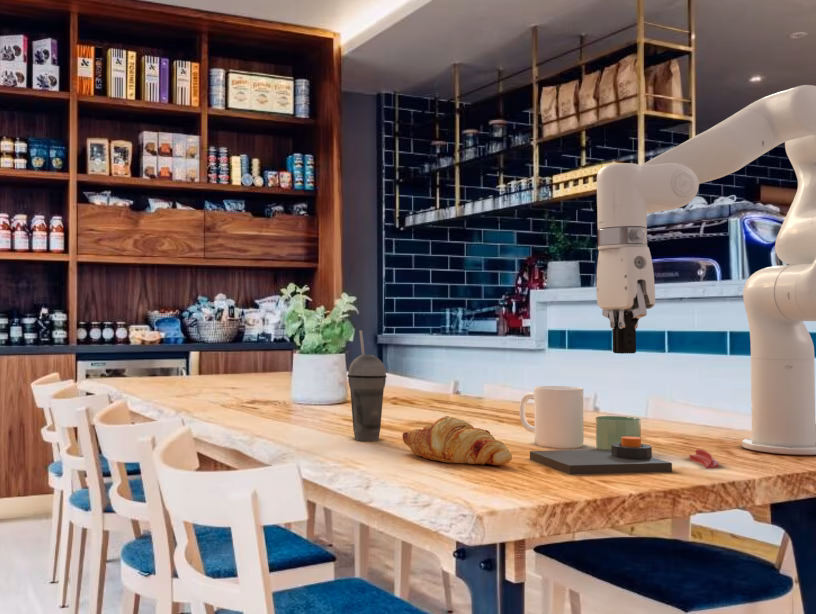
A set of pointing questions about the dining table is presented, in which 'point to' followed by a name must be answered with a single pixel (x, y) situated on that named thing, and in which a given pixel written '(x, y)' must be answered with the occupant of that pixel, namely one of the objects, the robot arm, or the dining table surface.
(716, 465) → the cayenne pepper
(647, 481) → the dining table surface
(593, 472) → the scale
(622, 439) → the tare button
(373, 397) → the beverage cup
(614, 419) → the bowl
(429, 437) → the croissant
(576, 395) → the cup
